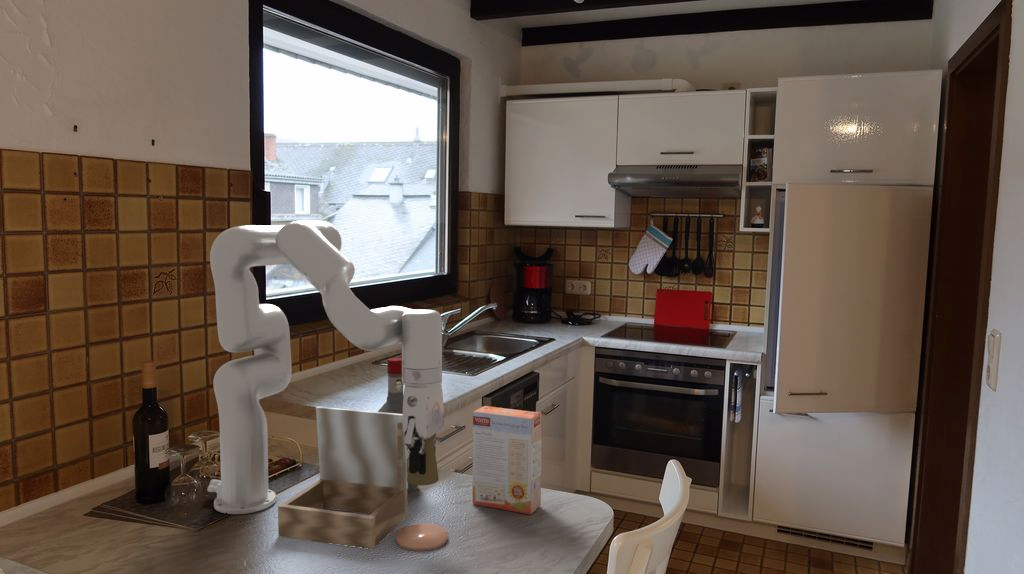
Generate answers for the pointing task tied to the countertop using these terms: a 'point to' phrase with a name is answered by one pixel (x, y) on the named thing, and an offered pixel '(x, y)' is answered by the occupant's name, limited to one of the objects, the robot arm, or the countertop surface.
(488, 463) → the cracker box
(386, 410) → the liquor
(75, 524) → the countertop surface
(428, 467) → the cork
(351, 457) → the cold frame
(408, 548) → the peach flat disc
